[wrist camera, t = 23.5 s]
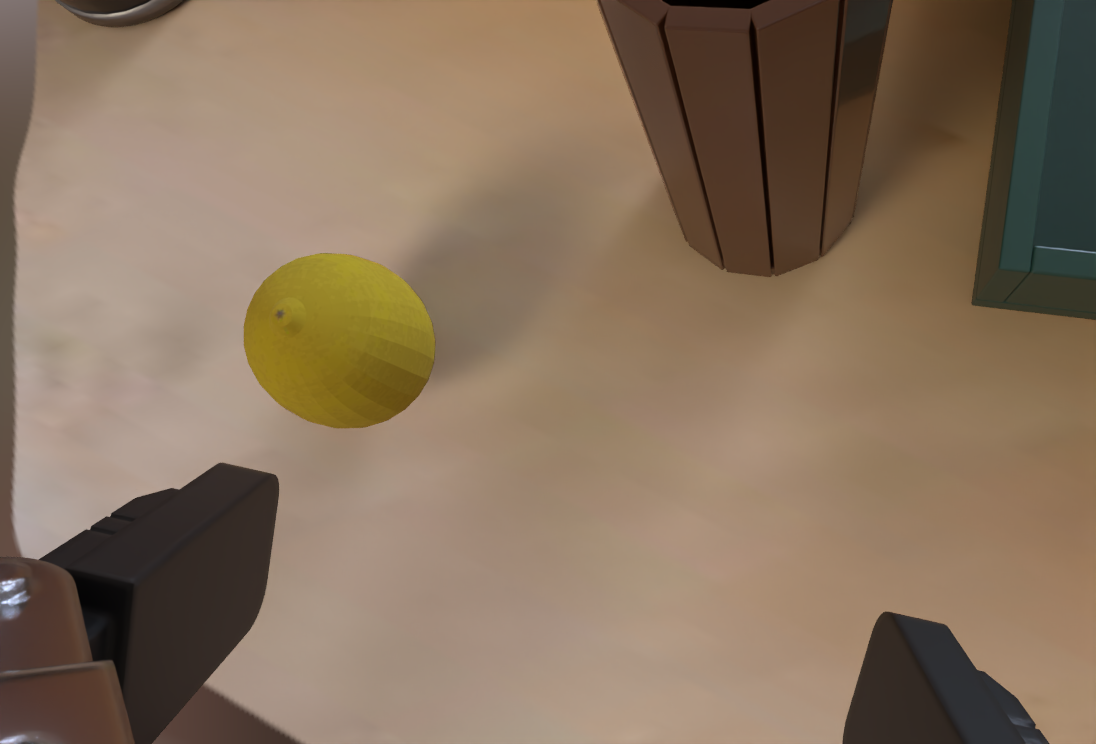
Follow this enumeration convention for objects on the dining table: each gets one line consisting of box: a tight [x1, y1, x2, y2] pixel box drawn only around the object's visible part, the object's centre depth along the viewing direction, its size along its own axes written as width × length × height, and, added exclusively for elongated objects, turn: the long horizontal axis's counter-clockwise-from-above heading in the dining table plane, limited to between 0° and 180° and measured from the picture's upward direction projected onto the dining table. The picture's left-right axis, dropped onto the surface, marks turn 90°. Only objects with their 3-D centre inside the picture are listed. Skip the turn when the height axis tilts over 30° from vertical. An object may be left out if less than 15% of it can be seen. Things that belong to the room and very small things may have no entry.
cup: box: [596, 0, 893, 277], centre depth 24 cm, size 6×6×16 cm
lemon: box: [244, 253, 435, 428], centre depth 31 cm, size 6×6×8 cm
